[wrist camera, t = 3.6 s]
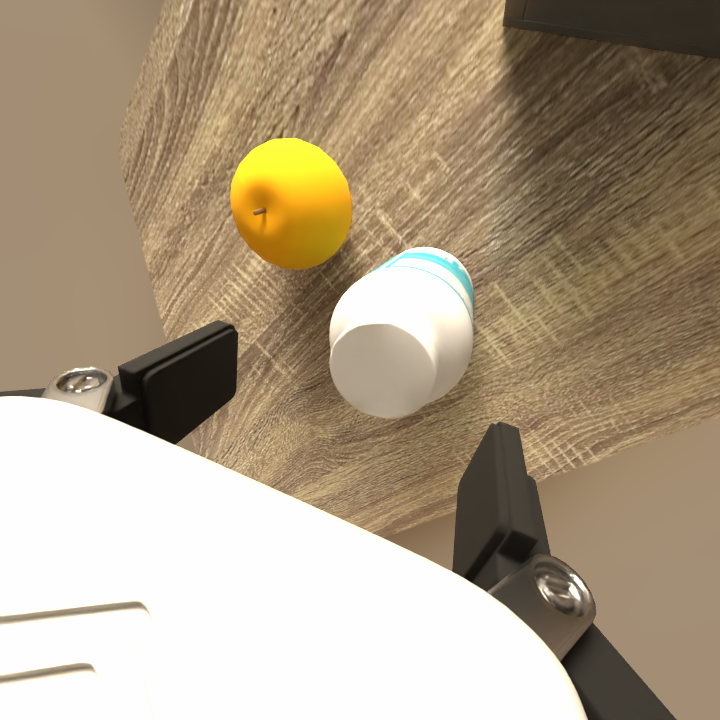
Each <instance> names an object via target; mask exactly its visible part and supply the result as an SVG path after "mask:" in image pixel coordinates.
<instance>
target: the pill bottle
mask: <svg viewBox="0 0 720 720" xmlns="http://www.w3.org/2000/svg"><path fill="white" fill-rule="evenodd" d="M473 324H474V291H473V285H472V281H471V278H470V276H469V274H468V272H467V270H466V269H465V268H464V266H463V265H462V264H461V263H460V262H459V261H458V260H457V259H456V258H455V257H453V256H452V255H450V254H449V253H447V252H445V251H442V250H440V249H436V248H429V247H420V248H413V249H410V250H407V251H404V252H402V253H400V254H398V255H397V256H395V257H393V258H392V259H390V260H389V261H387V262H386V263H384V264H383V265H381V266H380V267H378V268H377V269H375V270H374V271H372V272H371V273H369V274H368V275H366V276H365V277H363V278H362V279H360V280H359V281H357V282H356V283H355V284H354V285H352V286H351V287H350V288H349V289H348V290H347V291H346V292H345V294H344V295H343V296H342V298H341V299H340V300H339V302H338V304H337V306H336V308H335V310H334V313H333V315H332V319H331V324H330V335H329V338H330V347H331V355H330V372H331V377H332V380H333V382H334V384H335V387H336V388H337V390H338V392H339V393H340V394H341V396H342V397H343V398H344V399H345V400H346V401H347V402H348V403H349V404H350V405H351V406H353V407H354V408H356V409H357V410H359V411H361V412H363V413H365V414H367V415H370V416H373V417H377V418H384V419H396V418H401V417H405V416H408V415H410V414H413V413H414V412H416V411H417V410H419V409H420V408H422V407H423V406H424V405H425V404H428V403H430V402H433V401H435V400H437V399H439V398H441V397H442V396H444V395H445V394H447V393H448V392H449V391H450V390H451V389H453V388H454V387H455V386H456V384H457V383H458V382H459V381H460V380H461V378H462V377H463V375H464V373H465V371H466V369H467V367H468V365H469V362H470V359H471V355H472V349H473Z"/></svg>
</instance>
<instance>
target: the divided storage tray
mask: <svg viewBox="0 0 720 720" xmlns="http://www.w3.org/2000/svg"><path fill="white" fill-rule="evenodd" d="M503 26H505V27H512V28H518V29H525V30H532V31H538V32H545V33H551V34H558V35H564V36H571V37H578V38H584V39H591V40H597V41H604V42H611V43H617V44H624V45H630V46H637V47H644V48H650V49H657V50H663V51H670V52H676V53H683V54H690V55H696V56H703V57H709V58H716V59H720V0H506V4H505V12H504V19H503Z"/></svg>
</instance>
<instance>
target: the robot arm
mask: <svg viewBox="0 0 720 720" xmlns="http://www.w3.org/2000/svg"><path fill="white" fill-rule="evenodd" d="M237 351H238V332H237V331H236V330H235V328H234V326H233V325H231V324H228V323H225V322H222V321H219V320H217V321H215V322H212V323H210V324H208V325H206V326H204V327H202V328H200V329H197V330H195V331H193V332H191V333H189V334H187V335H185V336H182V337H180V338H178V339H176V340H174V341H172V342H170V343H167V344H165V345H163V346H161V347H159V348H157V349H155V350H152V351H150V352H148V353H146V354H144V355H142V356H140V357H137V358H135V359H133V360H131V361H129V362H127V363H125V364H122V365H120V366H118V371H119V375H117V376H115V377H113V375H112V373H111V372H110V371H108V370H106V369H102V368H98V367H97V368H96V367H84V368H77V369H72V370H69V371H66V372H63V373H61V374H59V375H57V376H56V377H54V378H53V379H52V380H51V381H50V383H49V384H48V386H47V388H43V389H31V390H19V391H6V392H0V720H676V719H675V717H674V716H673V715H672V714H671V713H670V712H669V710H668V709H667V708H666V707H665V706H664V705H663V703H662V702H661V701H660V700H659V699H658V698H657V697H656V695H655V694H654V693H653V692H652V691H651V690H650V689H649V688H648V686H647V685H646V684H645V683H644V682H643V680H642V679H641V678H640V677H639V676H638V675H637V674H636V672H635V671H634V670H633V669H632V668H631V667H630V665H629V664H628V663H627V662H626V661H625V659H624V658H623V657H622V656H621V655H620V654H619V653H618V651H617V650H616V649H615V648H614V647H613V646H612V644H611V643H610V642H609V641H608V640H607V639H606V637H605V636H604V635H603V634H602V633H601V632H600V630H599V629H598V628H597V627H596V626H595V625H594V624H593V620H594V618H595V615H596V606H595V602H594V599H593V596H592V594H591V592H590V590H589V589H588V587H587V585H586V583H585V582H584V581H583V579H582V578H581V577H580V576H579V575H578V574H577V573H576V571H574V570H573V569H572V568H571V567H569V565H567V564H566V563H565V562H563V561H561V560H560V559H558V558H556V557H554V556H551V554H550V549H549V544H548V540H547V535H546V530H545V525H544V521H543V516H542V510H541V506H540V501H539V496H538V491H537V486H536V482H535V480H534V479H533V478H532V477H530V476H528V475H527V471H526V466H525V460H524V455H523V449H522V444H521V438H520V433H519V429H518V428H517V427H514V426H511V425H508V424H506V423H503V422H498V423H497V425H495V424H491V425H490V426H489V428H488V430H487V431H486V433H485V435H484V437H483V439H482V441H481V443H480V444H479V446H478V448H477V450H476V452H475V454H474V456H473V457H472V459H471V461H470V463H469V465H468V467H467V469H466V471H465V472H464V474H463V476H462V478H461V480H460V483H459V486H458V494H457V509H456V526H455V540H454V555H453V570H452V571H449V570H448V569H446V568H444V567H442V566H440V565H438V564H436V563H434V562H432V561H430V560H428V559H426V558H424V557H422V556H420V555H417V554H415V553H413V552H411V551H409V550H407V549H405V548H403V547H401V546H398V545H396V544H394V543H392V542H390V541H388V540H385V539H384V538H381V537H379V536H377V535H375V534H373V533H371V532H368V531H366V530H364V529H362V528H359V527H357V526H355V525H353V524H351V523H348V522H346V521H344V520H342V519H340V518H337V517H335V516H333V515H331V514H329V513H326V512H324V511H322V510H320V509H318V508H315V507H313V506H311V505H309V504H306V503H304V502H302V501H300V500H298V499H295V498H293V497H291V496H289V495H286V494H284V493H282V492H280V491H277V490H275V489H273V488H271V487H269V486H266V485H264V484H262V483H260V482H257V481H255V480H253V479H251V478H248V477H246V476H244V475H242V474H239V473H237V472H235V471H233V470H230V469H228V468H226V467H224V466H221V465H219V464H217V463H215V462H212V461H210V460H208V459H206V458H203V457H201V456H199V455H196V454H194V453H192V452H189V451H187V450H185V449H183V448H180V447H178V446H176V445H175V444H177V443H178V442H179V441H180V440H182V439H183V438H184V437H185V436H186V435H188V434H189V433H190V432H191V431H193V430H194V429H195V428H196V427H198V426H199V425H200V424H201V423H202V422H204V421H205V420H206V419H207V418H209V417H210V416H211V415H212V414H214V413H215V412H216V411H217V410H218V409H220V408H221V407H222V406H223V405H225V404H226V403H227V402H228V401H229V400H231V399H232V398H233V396H234V395H235V392H236V380H237Z"/></svg>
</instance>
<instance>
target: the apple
mask: <svg viewBox="0 0 720 720" xmlns="http://www.w3.org/2000/svg"><path fill="white" fill-rule="evenodd" d="M230 201H231V207H232V213H233V218H234V220H235V223H236V225H237V228H238V231H239V233H240V235H241V236H242V237H243V239H244V240H245V242H246V243H247V244H248V246H249V247H250V248H251V249H252V250H253V251H254V252H256V253H257V254H258V255H259V256H260V257H261V258H262V259H264V260H265V261H268V262H270V263H272V264H274V265H276V266H278V267H280V268H284V269H300V270H302V269H307V268H310V267H313V266H317V265H320V264H322V263H324V262H325V261H326V260H328V259H329V258H330V257H331V256H333V255H334V254H335V253H336V252H337V251H338V250H339V248H340V247H341V245H342V244H343V242H344V241H345V239H346V238H347V236H348V232H349V229H350V225H351V221H352V199H351V195H350V192H349V188H348V184H347V180H346V179H345V177H344V176H343V174H342V172H341V171H340V169H339V168H338V166H337V164H336V163H335V162H334V161H333V160H332V159H331V158H330V157H329V156H327V155H326V154H325V153H324V152H323V151H322V150H321V149H320V148H318V147H316V146H314V145H312V144H309V143H307V142H304V141H302V140H299V139H296V138H286V139H274V140H270V141H268V142H266V143H264V144H262V145H260V146H258V147H257V148H255V149H253V150H252V151H251V152H250V153H249V154H248V155H247V156H246V158H245V159H244V160H243V161H242V162H241V163H240V165H239V167H238V169H237V171H236V174H235V176H234V178H233V181H232V186H231V197H230Z"/></svg>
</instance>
